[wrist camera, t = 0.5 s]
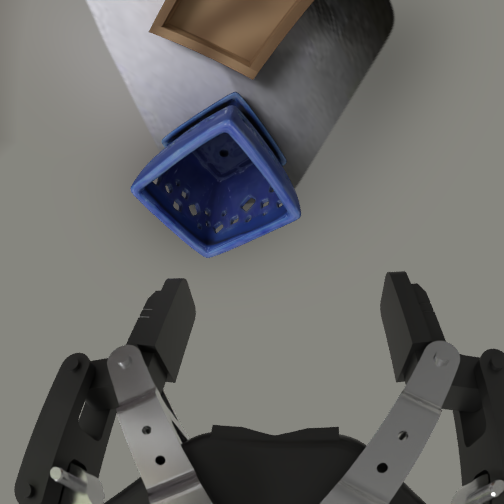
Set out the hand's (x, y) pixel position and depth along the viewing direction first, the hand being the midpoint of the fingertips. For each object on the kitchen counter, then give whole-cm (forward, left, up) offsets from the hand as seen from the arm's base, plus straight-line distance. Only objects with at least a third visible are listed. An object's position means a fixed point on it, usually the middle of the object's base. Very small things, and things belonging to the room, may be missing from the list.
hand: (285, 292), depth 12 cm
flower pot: (+1, -11, -28) cm, 30 cm away
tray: (-7, +5, -28) cm, 29 cm away
